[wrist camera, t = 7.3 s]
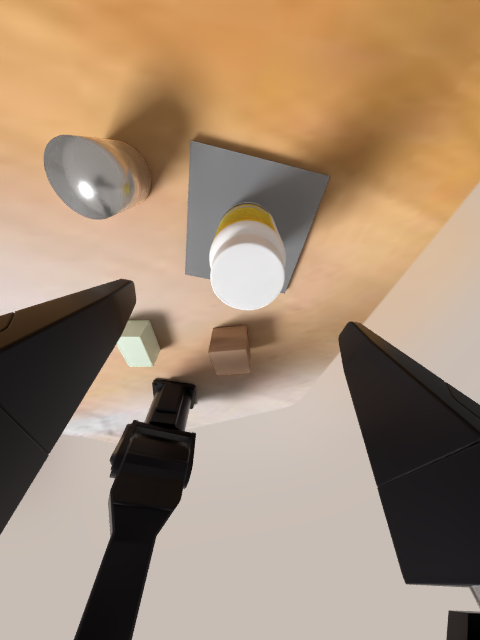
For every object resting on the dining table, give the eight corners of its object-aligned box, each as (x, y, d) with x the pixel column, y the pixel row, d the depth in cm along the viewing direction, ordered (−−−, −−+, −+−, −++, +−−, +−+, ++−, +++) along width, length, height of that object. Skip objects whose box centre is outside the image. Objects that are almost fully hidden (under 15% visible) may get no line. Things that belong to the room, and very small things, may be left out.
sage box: (160, 348, 28) (152, 366, 26) (138, 348, 28) (128, 366, 26) (149, 319, 25) (139, 336, 22) (125, 319, 25) (112, 336, 23)
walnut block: (250, 347, 27) (250, 373, 24) (220, 350, 28) (216, 375, 25) (246, 324, 25) (245, 349, 22) (213, 327, 25) (208, 352, 22)
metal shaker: (152, 209, 17) (124, 225, 13) (101, 198, 17) (58, 211, 13) (149, 148, 15) (114, 145, 11) (89, 133, 14) (31, 125, 10)
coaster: (283, 290, 22) (284, 293, 21) (186, 271, 21) (185, 274, 20) (327, 175, 15) (330, 176, 15) (192, 140, 14) (190, 140, 14)
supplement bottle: (207, 226, 17) (182, 270, 11) (254, 186, 16) (259, 209, 9) (241, 270, 20) (238, 328, 13) (286, 240, 18) (309, 289, 11)
